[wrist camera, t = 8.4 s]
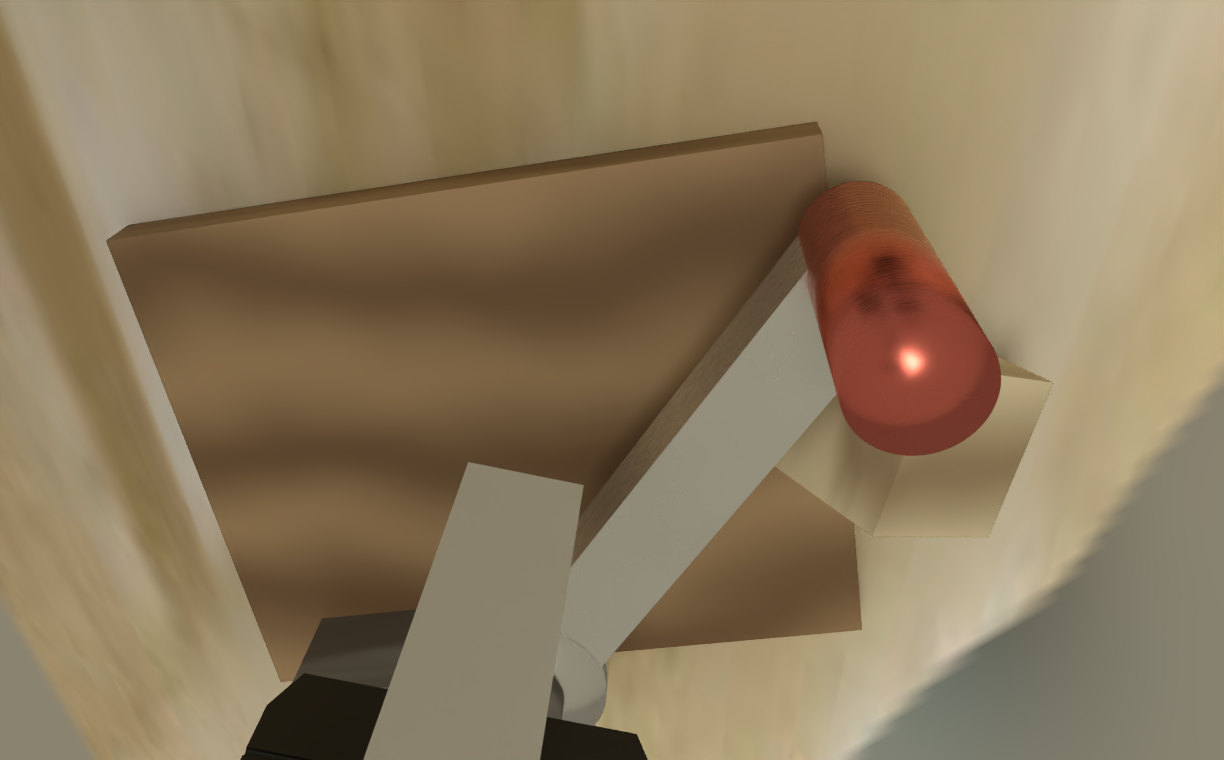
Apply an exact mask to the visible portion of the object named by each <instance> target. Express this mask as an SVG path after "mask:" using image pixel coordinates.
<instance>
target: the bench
mask: <svg viewBox="0 0 1224 760" xmlns="http://www.w3.org/2000/svg"><path fill="white" fill-rule="evenodd" d="M826 191H827V185H826V173H825V161H824V148H823V136H822V132H821V130H820V128H819V126H818V124H817V122H812V123H805V124H798V125H792V126H785V127H778V128H772V129H765V130H758V131H752V132H745V133H738V134H732V135H725V136H718V137H712V138H705V139H698V140H692V141H685V142H679V143H672V144H665V145H659V146H652V147H645V148H639V149H632V150H625V151H619V152H612V153H605V154H599V155H592V156H585V157H579V158H572V159H565V160H559V161H552V162H545V163H539V164H532V165H525V166H519V167H512V168H505V169H499V170H492V171H485V172H479V173H472V174H465V175H459V176H452V177H446V178H439V179H432V180H426V181H419V182H412V183H406V184H399V185H392V186H386V187H379V188H372V189H366V190H359V191H352V192H346V193H339V194H332V195H326V196H319V197H312V198H306V199H299V200H292V201H286V202H279V203H272V204H266V205H259V206H252V207H246V208H239V209H232V210H226V211H219V212H213V213H206V214H199V215H193V216H186V217H179V218H173V219H166V220H159V221H153V222H146V223H139V224H133V225H128V226H127V227H125V228H124V229H122V230H121V231H119V232H118V233H117V234H115V235H114V236H112V237H111V238H109V239H108V240H106V242H107V244H108V247H109V249H110V252H111V254H112V257H113V259H114V262H115V264H116V267H117V269H118V272H119V274H120V277H121V280H122V282H123V285H124V287H125V290H126V292H127V295H128V297H129V300H130V302H131V305H132V307H133V310H134V312H135V315H136V317H137V320H138V322H139V325H140V328H141V330H142V333H143V335H144V338H145V340H146V343H147V345H148V348H149V350H150V353H151V355H152V358H153V360H154V363H155V365H156V368H157V370H158V373H159V376H160V378H161V381H162V383H163V386H164V388H165V391H166V393H167V396H168V398H169V401H170V403H171V406H172V408H173V411H174V413H175V416H176V418H177V421H178V424H179V426H180V429H181V431H182V434H183V436H184V439H185V441H186V444H187V446H188V449H189V451H190V454H191V456H192V459H193V461H194V464H195V466H196V469H197V472H198V474H199V477H200V479H201V482H202V484H203V487H204V489H205V492H206V494H207V497H208V499H209V502H210V504H211V507H212V509H213V512H214V514H215V517H216V520H217V522H218V525H219V527H220V530H221V532H222V535H223V537H224V540H225V542H226V545H227V547H228V550H229V552H230V555H231V557H232V560H233V563H234V565H235V568H236V570H237V573H238V575H239V578H240V580H241V583H242V585H243V588H244V590H245V593H246V595H247V598H248V600H249V603H250V605H251V608H252V611H253V613H254V616H255V618H256V621H257V623H258V626H259V628H260V631H261V633H262V636H263V638H264V641H265V643H266V646H267V648H268V651H269V653H270V656H271V659H272V661H273V664H274V666H275V669H276V671H277V674H278V676H279V679H280V681H281V682H286V681H293V682H294V681H296V680H297V679H298V678H299V677H300V676H301V675H303V674H304V673H307V674H312V675H317V676H322V677H327V678H333V679H338V680H343V681H348V682H353V683H359V684H364V685H369V686H374V687H379V688H384V689H388V688H389V686H390V683H391V680H392V677H393V674H394V671H395V669H396V666H397V663H398V660H399V657H400V654H401V652H402V649H403V646H404V643H405V640H406V637H407V635H408V632H409V629H410V626H411V623H412V620H413V617H414V615H415V612H416V609H417V606H418V603H419V600H420V598H421V595H422V592H423V589H424V586H425V583H426V581H427V578H428V575H429V572H430V569H431V566H432V564H433V561H434V558H435V555H436V552H437V549H438V547H439V544H440V541H441V538H442V535H443V532H444V530H445V527H446V524H447V521H448V518H449V515H450V512H451V510H452V507H453V504H454V501H455V498H456V495H457V493H458V490H459V487H460V484H461V481H462V478H463V476H464V473H465V470H466V467H467V464H468V462H470V463H475V464H480V465H485V466H490V467H495V468H500V469H505V470H510V471H515V472H520V473H525V474H530V475H535V476H540V477H545V478H550V479H555V480H560V481H565V482H570V483H575V484H580V485H584V487H583V493H582V499H581V505H580V512H579V517H580V515H581V514H582V513H583V511H584V510H585V509H586V508H587V506H588V505H589V504H590V502H591V501H592V500H593V499H594V497H595V496H596V495H597V493H598V492H599V491H600V490H601V488H602V487H603V486H604V484H605V483H606V482H607V481H608V479H609V478H610V477H611V475H612V474H613V473H614V472H615V470H616V469H617V468H618V466H619V465H620V464H621V463H622V461H623V460H624V459H625V457H626V456H627V455H628V453H629V452H630V451H631V450H632V448H633V447H634V446H635V444H636V443H637V442H638V441H639V439H640V438H641V437H642V435H643V434H644V433H645V432H646V430H647V429H648V428H649V426H650V425H651V424H652V423H653V421H654V420H655V419H656V417H657V416H658V415H659V414H660V412H661V411H662V410H663V408H664V407H665V406H666V405H667V403H668V402H669V401H670V399H671V398H672V397H673V396H674V394H675V393H676V392H677V390H678V389H679V388H680V387H681V385H682V384H683V383H684V381H685V380H686V379H687V378H688V376H689V375H690V374H691V372H692V371H693V370H694V369H695V367H696V366H697V365H698V363H699V362H700V361H701V360H702V358H703V357H704V356H705V354H706V353H707V352H708V351H709V349H710V348H711V347H712V345H713V344H714V343H715V342H716V340H717V339H718V338H719V336H720V335H721V334H722V333H723V331H724V330H725V329H726V327H727V326H728V325H729V324H730V322H731V321H732V320H733V318H734V317H735V316H736V314H737V313H738V312H739V311H740V309H741V308H742V307H743V305H744V304H745V303H746V302H747V300H748V299H749V298H750V296H751V295H752V294H753V293H754V291H755V290H756V289H757V287H758V286H759V285H760V284H761V282H762V281H763V280H764V278H765V277H766V276H767V275H768V273H769V272H770V271H771V269H772V268H773V267H774V266H775V264H776V263H777V262H778V260H779V259H780V258H781V257H782V255H783V254H784V253H785V251H786V250H787V249H788V248H789V246H790V245H791V244H792V242H793V241H794V240H795V239H796V237H797V232H798V227H799V224H800V221H801V219H802V217H803V215H804V213H805V211H806V210H807V209H808V207H809V206H810V205H811V204H812V202H813V201H814V200H815V199H816V198H818V197H819V196H820V195H821V194H823V193H824V192H826ZM855 630H862V622H861V610H860V597H859V585H858V573H857V560H856V548H855V535H854V523H853V522H851V521H850V520H849V519H847V518H846V517H844V516H843V515H842V514H840V513H839V512H837V511H836V510H835V509H833V508H832V507H830V506H829V505H828V504H826V503H825V502H824V501H822V500H821V499H819V498H818V497H817V496H815V495H814V494H812V493H811V492H810V491H808V490H807V489H805V488H804V487H803V486H801V485H800V484H799V483H797V482H796V481H794V480H793V479H792V478H790V477H789V476H787V475H786V474H785V473H783V472H782V471H780V470H779V469H778V468H776V467H775V466H774V467H773V468H772V470H771V471H770V472H769V473H768V474H767V475H766V477H765V478H764V479H763V480H762V481H761V482H760V484H759V485H758V486H757V487H756V488H755V489H754V490H753V492H752V493H751V494H750V495H749V496H748V497H747V499H746V500H745V501H744V502H743V503H742V504H741V506H740V507H739V508H738V509H737V510H736V511H735V513H734V514H733V515H732V516H731V517H730V518H729V519H728V521H727V522H726V523H725V524H724V525H723V526H722V528H721V529H720V530H719V531H718V532H717V533H716V535H715V536H714V537H713V538H712V539H711V540H710V542H709V543H708V544H707V545H706V546H705V547H704V548H703V550H702V551H701V552H700V553H699V554H698V555H697V557H696V558H695V559H694V560H693V561H692V562H691V564H690V565H689V566H688V567H687V568H686V569H685V571H684V572H683V573H682V574H681V575H680V576H679V577H678V579H677V580H676V581H675V582H674V583H673V584H672V586H671V587H670V588H669V589H668V590H667V591H666V593H665V594H664V595H663V596H662V597H661V598H660V600H659V601H658V602H657V603H656V604H655V605H654V606H653V608H652V609H651V610H650V611H649V612H648V613H647V615H646V616H645V617H644V618H643V619H642V620H641V622H640V623H639V624H638V625H637V626H636V627H635V629H634V630H633V631H632V632H631V633H630V634H629V635H628V637H627V638H626V639H625V640H624V641H623V642H622V644H621V645H620V646H619V647H618V648H617V649H616V651H615V652H620V651H631V650H643V649H654V648H665V647H676V646H687V645H698V644H710V643H721V642H732V641H743V640H754V639H765V638H776V637H788V636H799V635H810V634H821V633H832V632H843V631H855ZM293 682H292V683H293ZM563 707H564V692H563V689H562V687H561V685H560V684H559V682H558V681H557V680H556V679H555V678H554V677H553V681H552V687H551V693H550V700H549V706H548V712H547V717H550V718H555V719H561V720H562V714H563Z"/></svg>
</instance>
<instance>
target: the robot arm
mask: <svg viewBox="0 0 1224 760" xmlns="http://www.w3.org/2000/svg"><path fill="white" fill-rule="evenodd" d="M583 487H584V485H580V484H575V483H570V482H565V481H560V480H555V479H550V478H545V477H540V476H535V475H530V474H525V473H520V472H515V471H510V470H505V469H500V468H495V467H490V466H485V465H480V464H475V463H470V462H468V464H467V467H466V470H465V473H464V476H463V478H462V481H461V484H460V487H459V490H458V493H457V495H456V498H455V501H454V504H453V507H452V510H451V512H450V515H449V518H448V521H447V524H446V527H445V530H444V532H443V535H442V538H441V541H440V544H439V547H438V549H437V552H436V555H435V558H434V561H433V564H432V566H431V569H430V572H429V575H428V578H427V581H426V583H425V586H424V589H423V592H422V595H421V598H420V600H419V603H418V606H417V609H416V612H415V615H414V617H413V620H412V623H411V626H410V629H409V632H408V635H407V637H406V640H405V643H404V646H403V649H402V652H401V654H400V657H399V660H398V663H397V666H396V669H395V671H394V674H393V677H392V680H391V683H390V686H389V688H388V689H384V688H379V687H374V686H369V685H364V684H359V683H353V682H348V681H343V680H338V679H333V678H327V677H322V676H317V675H312V674H307V673H304V674H303V675H301V676H300V677H299V678H298V679H297V680H296V681H294V682H293V683H292V684H291V685H290V686H289V687H287V688H286V689H285V690H284V691H283V692H282V693H281V694H279V695H278V696H277V697H276V698H275V699H274V700H272V701H271V702H270V703H269V704H268V705H267V706H266V708H265V710H264V712H263V714H262V717H261V719H260V721H259V723H258V725H257V727H256V729H255V731H254V733H253V735H252V737H251V739H250V741H249V743H248V745H247V748H246V752H245V755H243V756H242V758H241V760H648V759H647V757H646V755H645V752H644V750H643V748H642V745H641V743H640V741H639V738H638V736H637V734H633V733H628V732H623V731H618V730H612V729H607V728H602V727H597V726H592V725H587V724H581V723H576V722H571V721H566V720H561V719H555V718H550V717H547V712H548V706H549V700H550V693H551V687H552V681H553V675H554V668H555V662H556V656H557V650H558V643H559V637H560V631H561V624H562V618H563V612H564V606H565V599H566V593H567V587H568V581H569V574H570V568H571V562H572V556H573V549H574V543H575V537H576V531H577V524H578V518H579V512H580V505H581V499H582V493H583Z"/></svg>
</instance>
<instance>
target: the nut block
mask: <svg viewBox="0 0 1224 760" xmlns="http://www.w3.org/2000/svg"><path fill="white" fill-rule="evenodd" d="M998 360H999V364H1000V369H1001V388H1000V393H999V397H998V400H997V403H996V405H995V407H994V409H993V411H992V413H991V414H990V416H989V417H988V419H987V420H986V421H985V422H984V424H983V425H982V426H981V427H980V428H979V429H978V430H977V431H976V432H975V433H974V434H973V435H971V436H970V437H968V438H967V439H966V440H964V441H963V442H961V443H959V444H957V445H956V446H953V447H951V448H949V449H947V450H944V451H940V452H937V453H933V454H928V455H920V456H903V455H896V454H892V453H888V452H884V451H882V450H879V449H877V448H875V447H873V446H871V445H869V444H868V443H866V442H865V441H863V440H862V439H861V438H860V437H859V436H858V435H856V434H855V433H854V431H853V430H852V429H851V428H850V426H849V425H848V423H847V422H846V420H845V418H844V416H843V413H842V410H841V407H840V404H839V400H838V397H837V394H836V395H835V397H834V398H833V399H832V400H831V401H830V402H829V403H828V405H827V406H826V407H825V408H824V409H823V410H822V412H821V413H820V414H819V415H818V416H817V417H816V419H815V420H814V421H813V422H812V423H811V424H810V426H809V427H808V428H807V429H806V430H805V431H804V432H803V434H802V435H801V436H800V437H799V438H798V439H797V441H796V442H795V443H794V444H793V445H792V446H791V448H790V449H789V450H788V451H787V452H786V453H785V455H784V456H783V457H782V458H781V459H780V460H779V461H778V463H777V464H776V465H775V467H776V468H778V469H779V470H780V471H782V472H783V473H785V474H786V475H787V476H789V477H790V478H792V479H793V480H794V481H796V482H797V483H799V484H800V485H801V486H803V487H804V488H805V489H807V490H808V491H810V492H811V493H812V494H814V495H815V496H817V497H818V498H819V499H821V500H822V501H824V502H825V503H826V504H828V505H829V506H830V507H832V508H833V509H835V510H836V511H837V512H839V513H840V514H842V515H843V516H844V517H846V518H847V519H849V520H850V521H851V522H853V523H854V524H855V525H857V526H858V527H860V528H861V529H862V530H864V531H865V532H867V533H868V534H869V535H871V536H872V537H989V534H990V532H991V530H992V527H993V525H994V522H995V520H996V518H997V515H998V513H999V511H1000V508H1001V506H1002V503H1003V501H1004V499H1005V496H1006V494H1007V492H1008V489H1009V487H1010V484H1011V482H1012V480H1013V477H1014V475H1015V473H1016V470H1017V468H1018V465H1019V463H1020V461H1021V458H1022V456H1023V454H1024V451H1025V449H1026V447H1027V444H1028V442H1029V439H1030V437H1031V435H1032V432H1033V430H1034V428H1035V425H1036V423H1037V420H1038V418H1039V416H1040V413H1041V411H1042V409H1043V406H1044V404H1045V401H1046V399H1047V397H1048V394H1049V392H1050V390H1051V387H1052V385H1053V382H1051V381H1049V380H1046V379H1044V378H1042V377H1040V376H1038V375H1036V374H1034V373H1031V372H1029V371H1027V370H1025V369H1023V368H1021V367H1018V366H1016V365H1014V364H1012V363H1010V362H1008V361H1005V360H1003V359H1001V358H999V357H998Z"/></svg>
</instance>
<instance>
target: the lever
mask: <svg viewBox="0 0 1224 760" xmlns="http://www.w3.org/2000/svg"><path fill="white" fill-rule="evenodd" d="M1000 388H1001V369H1000V364H999V360H998V357H997V355H996V353H995V351H994V349H993V347H992V345H991V344H990V342H989V340H988V339H987V337H986V335H985V334H984V332H983V330H982V329H981V327H980V325H979V324H978V322H977V321H976V319H975V317H974V316H973V314H972V312H971V311H970V309H969V307H968V306H967V304H966V302H965V301H964V299H963V297H962V296H961V294H960V292H959V291H958V289H957V288H956V286H955V284H954V283H953V281H952V279H951V278H950V276H949V274H948V273H947V271H946V269H945V268H944V266H943V264H942V263H941V261H940V259H939V258H938V256H937V255H936V253H935V251H934V250H933V248H932V246H931V245H930V243H929V241H928V240H927V238H926V236H925V235H924V233H923V231H922V230H921V228H920V226H919V225H918V223H917V222H916V220H915V218H914V217H913V215H912V213H911V212H910V210H909V208H908V207H907V205H906V204H905V202H904V201H903V200H902V199H901V198H900V197H899V196H898V195H897V194H896V193H895V192H893V191H892V190H890V189H888V188H887V187H884V186H882V185H880V184H876V183H872V182H864V181H856V182H848V183H844V184H841V185H838V186H835V187H833V188H831V189H829V190H827V191H826V192H824V193H823V194H821V195H820V196H819V197H818V198H816V199H815V200H814V201H813V202H812V204H811V205H810V206H809V207H808V209H807V210H806V211H805V213H804V215H803V217H802V219H801V221H800V224H799V227H798V232H797V237H796V239H795V240H794V241H793V242H792V244H791V245H790V246H789V248H788V249H787V250H786V251H785V253H784V254H783V255H782V257H781V258H780V259H779V260H778V262H777V263H776V264H775V266H774V267H773V268H772V269H771V271H770V272H769V273H768V275H767V276H766V277H765V278H764V280H763V281H762V282H761V284H760V285H759V286H758V287H757V289H756V290H755V291H754V293H753V294H752V295H751V296H750V298H749V299H748V300H747V302H746V303H745V304H744V305H743V307H742V308H741V309H740V311H739V312H738V313H737V314H736V316H735V317H734V318H733V320H732V321H731V322H730V324H729V325H728V326H727V327H726V329H725V330H724V331H723V333H722V334H721V335H720V336H719V338H718V339H717V340H716V342H715V343H714V344H713V345H712V347H711V348H710V349H709V351H708V352H707V353H706V354H705V356H704V357H703V358H702V360H701V361H700V362H699V363H698V365H697V366H696V367H695V369H694V370H693V371H692V372H691V374H690V375H689V376H688V378H687V379H686V380H685V381H684V383H683V384H682V385H681V387H680V388H679V389H678V390H677V392H676V393H675V394H674V396H673V397H672V398H671V399H670V401H669V402H668V403H667V405H666V406H665V407H664V408H663V410H662V411H661V412H660V414H659V415H658V416H657V417H656V419H655V420H654V421H653V423H652V424H651V425H650V426H649V428H648V429H647V430H646V432H645V433H644V434H643V435H642V437H641V438H640V439H639V441H638V442H637V443H636V444H635V446H634V447H633V448H632V450H631V451H630V452H629V453H628V455H627V456H626V457H625V459H624V460H623V461H622V463H621V464H620V465H619V466H618V468H617V469H616V470H615V472H614V473H613V474H612V475H611V477H610V478H609V479H608V481H607V482H606V483H605V484H604V486H603V487H602V488H601V490H600V491H599V492H598V493H597V495H596V496H595V497H594V499H593V500H592V501H591V502H590V504H589V505H588V506H587V508H586V509H585V510H584V511H583V513H582V514H581V515H580V517H579V518H578V524H577V531H576V537H575V543H574V549H573V556H572V562H571V568H570V574H569V581H568V587H567V593H566V599H565V606H564V612H563V618H562V624H561V631H560V637H559V643H558V650H557V656H556V662H555V668H554V675H553V677H554V678H555V679H556V680H557V681H558V682H559V684H560V685H561V687H562V689H563V692H564V707H563V714H562V720H566V721H571V722H576V723H581V724H587V725H592V726H595V724H596V723H597V722H598V720H599V719H600V717H601V715H602V713H603V710H604V707H605V702H606V693H607V682H608V671H609V660H610V656H611V655H612V654H613V653H614V652H615V651H616V649H617V648H618V647H619V646H620V645H621V644H622V642H623V641H624V640H625V639H626V638H627V637H628V635H629V634H630V633H631V632H632V631H633V630H634V629H635V627H636V626H637V625H638V624H639V623H640V622H641V620H642V619H643V618H644V617H645V616H646V615H647V613H648V612H649V611H650V610H651V609H652V608H653V606H654V605H655V604H656V603H657V602H658V601H659V600H660V598H661V597H662V596H663V595H664V594H665V593H666V591H667V590H668V589H669V588H670V587H671V586H672V584H673V583H674V582H675V581H676V580H677V579H678V577H679V576H680V575H681V574H682V573H683V572H684V571H685V569H686V568H687V567H688V566H689V565H690V564H691V562H692V561H693V560H694V559H695V558H696V557H697V555H698V554H699V553H700V552H701V551H702V550H703V548H704V547H705V546H706V545H707V544H708V543H709V542H710V540H711V539H712V538H713V537H714V536H715V535H716V533H717V532H718V531H719V530H720V529H721V528H722V526H723V525H724V524H725V523H726V522H727V521H728V519H729V518H730V517H731V516H732V515H733V514H734V513H735V511H736V510H737V509H738V508H739V507H740V506H741V504H742V503H743V502H744V501H745V500H746V499H747V497H748V496H749V495H750V494H751V493H752V492H753V490H754V489H755V488H756V487H757V486H758V485H759V484H760V482H761V481H762V480H763V479H764V478H765V477H766V475H767V474H768V473H769V472H770V471H771V470H772V468H773V467H774V466H775V465H776V464H777V463H778V461H779V460H780V459H781V458H782V457H783V456H784V455H785V453H786V452H787V451H788V450H789V449H790V448H791V446H792V445H793V444H794V443H795V442H796V441H797V439H798V438H799V437H800V436H801V435H802V434H803V432H804V431H805V430H806V429H807V428H808V427H809V426H810V424H811V423H812V422H813V421H814V420H815V419H816V417H817V416H818V415H819V414H820V413H821V412H822V410H823V409H824V408H825V407H826V406H827V405H828V403H829V402H830V401H831V400H832V399H833V398H834V397H835V395H836V394H837V397H838V400H839V404H840V407H841V410H842V413H843V416H844V418H845V420H846V422H847V423H848V425H849V426H850V428H851V429H852V430H853V431H854V433H855V434H856V435H858V436H859V437H860V438H861V439H862V440H863V441H865V442H866V443H868V444H869V445H871V446H873V447H875V448H877V449H879V450H882V451H884V452H888V453H892V454H896V455H903V456H920V455H928V454H933V453H937V452H940V451H944V450H947V449H949V448H951V447H953V446H956V445H957V444H959V443H961V442H963V441H964V440H966V439H967V438H968V437H970V436H971V435H973V434H974V433H975V432H976V431H977V430H978V429H979V428H980V427H981V426H982V425H983V424H984V422H985V421H986V420H987V419H988V417H989V416H990V414H991V413H992V411H993V409H994V407H995V405H996V403H997V400H998V397H999V393H1000Z"/></svg>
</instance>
